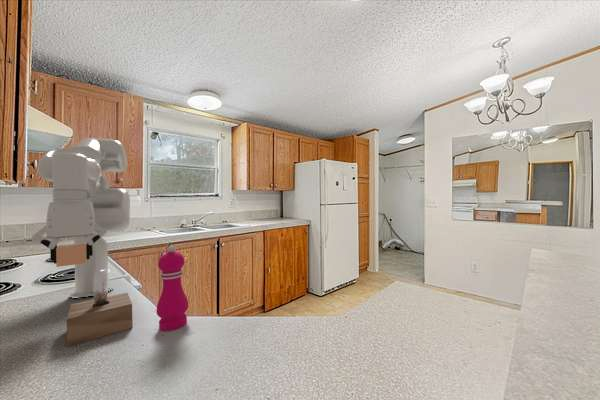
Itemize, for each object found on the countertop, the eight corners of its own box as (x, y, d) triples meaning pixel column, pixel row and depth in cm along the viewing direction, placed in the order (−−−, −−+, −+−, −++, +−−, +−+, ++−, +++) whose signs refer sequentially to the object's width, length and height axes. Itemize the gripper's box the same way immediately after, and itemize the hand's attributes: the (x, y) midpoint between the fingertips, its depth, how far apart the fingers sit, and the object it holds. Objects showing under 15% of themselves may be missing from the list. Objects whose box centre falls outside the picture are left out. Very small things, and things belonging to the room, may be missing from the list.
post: (94, 306, 63) (93, 270, 63) (107, 303, 65) (106, 268, 65) (94, 308, 61) (93, 272, 61) (107, 305, 63) (107, 270, 63)
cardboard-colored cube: (59, 263, 70) (58, 245, 70) (86, 259, 74) (86, 242, 74) (56, 266, 65) (56, 248, 66) (86, 262, 69) (86, 245, 69)
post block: (71, 327, 63) (70, 304, 64) (127, 313, 71) (127, 292, 71) (67, 346, 54) (66, 319, 54) (132, 327, 62) (132, 303, 62)
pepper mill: (175, 333, 58) (173, 248, 59) (149, 331, 60) (147, 248, 60) (194, 319, 65) (192, 243, 66) (171, 318, 67) (169, 243, 67)
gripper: (109, 197, 78) (110, 254, 78) (29, 198, 67) (30, 264, 67) (110, 196, 73) (111, 257, 72) (23, 196, 62) (24, 269, 61)
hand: (72, 260), depth 70 cm, fingers closed on cardboard-colored cube, 6 cm apart
